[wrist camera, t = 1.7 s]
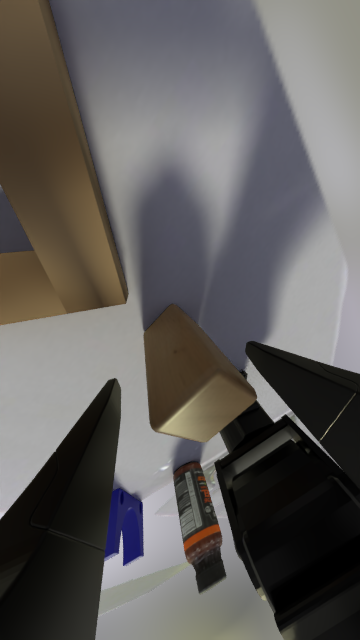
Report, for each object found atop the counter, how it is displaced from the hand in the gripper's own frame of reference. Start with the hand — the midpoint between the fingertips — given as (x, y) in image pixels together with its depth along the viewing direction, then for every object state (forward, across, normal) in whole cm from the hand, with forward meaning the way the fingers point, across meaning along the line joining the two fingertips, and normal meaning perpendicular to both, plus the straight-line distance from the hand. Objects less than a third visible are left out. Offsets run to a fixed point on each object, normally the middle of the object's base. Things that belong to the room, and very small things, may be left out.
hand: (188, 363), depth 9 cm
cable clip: (+5, +14, +35) cm, 38 cm away
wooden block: (+5, 0, 0) cm, 5 cm away
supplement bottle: (+5, +1, +33) cm, 33 cm away
